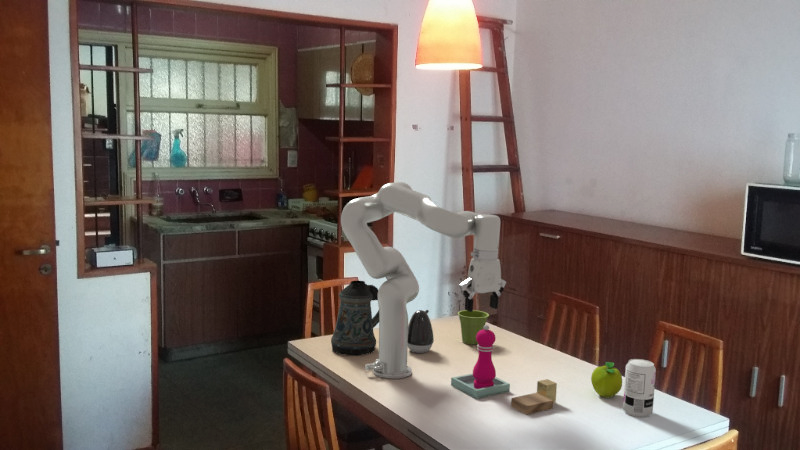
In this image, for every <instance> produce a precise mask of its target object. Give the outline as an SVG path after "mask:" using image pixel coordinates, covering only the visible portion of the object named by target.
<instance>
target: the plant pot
mask: <svg viewBox="0 0 800 450" xmlns="http://www.w3.org/2000/svg"><path fill="white" fill-rule="evenodd" d="M457 315H458V316H459V317H458V318H459V321H460V330H461V331H460V332H461V340H462V343H464V344H466V345H472V346H473V345H478V342H477V341H476V335H477V333H478V332H479V331H480V330H483V329H484V328H483V327H484V325H486V323H487V320H488V317H490V314H489V313H488V312H485V311H481V310H474V309H473V311H472V312H469V311H467V310H460V311H458V312H457Z"/></svg>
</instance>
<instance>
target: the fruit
mask: <svg viewBox="0 0 800 450" xmlns="http://www.w3.org/2000/svg"><path fill="white" fill-rule="evenodd" d="M614 366H615V363H614V362H608V361H605V365H602V366H597V367H595V369H593V371H592V373H591V378H590V380H591V385H592V388H593V389H594V391H595V393H597V395H599V396H600V397H602V398H612V397H614V396H616V395H617V394H618V393H619V392H620V391H621V390H622V387H623V377H622V373H621V372H620V371H619V369H618V368H616V367H614Z"/></svg>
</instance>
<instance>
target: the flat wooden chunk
mask: <svg viewBox="0 0 800 450" xmlns="http://www.w3.org/2000/svg"><path fill="white" fill-rule="evenodd" d="M510 400H511V401H510V407H511V408H513V409H515V410H517V411H518V412H520V413H522V414H524V415H526V416H529V415H532V414H536V413H537V414H538V413H541V412H545V411H549V410H553V409H554V403H553V401H554V400H552V399H550V398H548V397H546V396H544V395H542V394H539V393H537V392H533V393H529V394H523V395H520V396H515V397H511V398H510Z"/></svg>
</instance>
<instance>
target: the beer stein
mask: <svg viewBox="0 0 800 450" xmlns="http://www.w3.org/2000/svg"><path fill="white" fill-rule="evenodd" d="M378 290H379V288H377V286H375V285H373V284H367V283H366V281H364V280H351V282H350V283H349V284H348V285H347V286H345V287H344V288H343V289H341V291H339V293H338V297H339V300H340V301H339V302H340V303H339V307H338V311H337V312H338V313H337V320H336V323H335V327H334V331H333V334H332V336H331V339H330V342H331V348H332V351H333V353H336V354H337V355H341V356H342V355H343V356H347V357H348V356H351V357H352V356H353V357H354V356H355V357H357V356H358V357H359V356H360V357H361V356H366V355H369V354H372V353H374V352H375V350H376V345H377V339H376V336H375V333H374V328H375V327H376V326H377V325H378V324H379V309H378V310H377V311H376V313H375V315H374V316H373V315H372V314H373V313H372V306H371V305H372V303H371V302H373V301H378V298H377V295H378ZM373 351H374V352H373Z"/></svg>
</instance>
